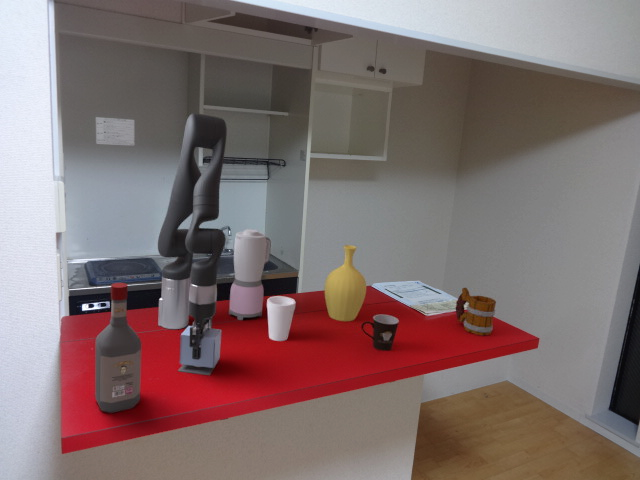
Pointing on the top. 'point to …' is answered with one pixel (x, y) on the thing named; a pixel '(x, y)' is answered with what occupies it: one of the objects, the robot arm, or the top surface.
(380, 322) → the coffee mug
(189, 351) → the periwinkle rectangular block
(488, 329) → the mug
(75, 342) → the top surface
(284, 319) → the foam cup
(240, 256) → the blender
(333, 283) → the vase
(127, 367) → the liquor
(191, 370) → the tape square
